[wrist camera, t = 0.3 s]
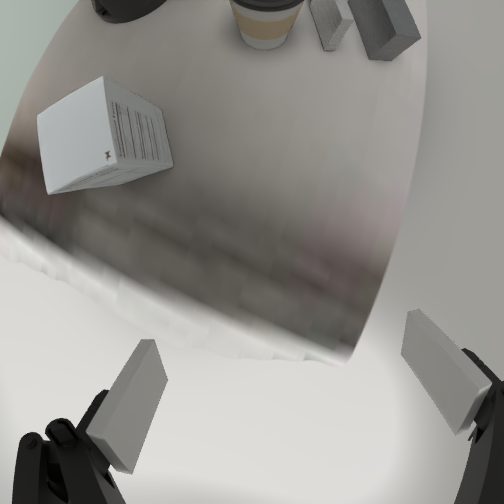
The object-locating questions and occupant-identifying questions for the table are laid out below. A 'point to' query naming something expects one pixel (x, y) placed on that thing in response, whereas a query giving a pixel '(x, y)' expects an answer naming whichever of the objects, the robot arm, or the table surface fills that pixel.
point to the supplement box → (101, 138)
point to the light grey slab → (331, 20)
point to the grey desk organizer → (384, 27)
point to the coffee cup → (265, 21)
